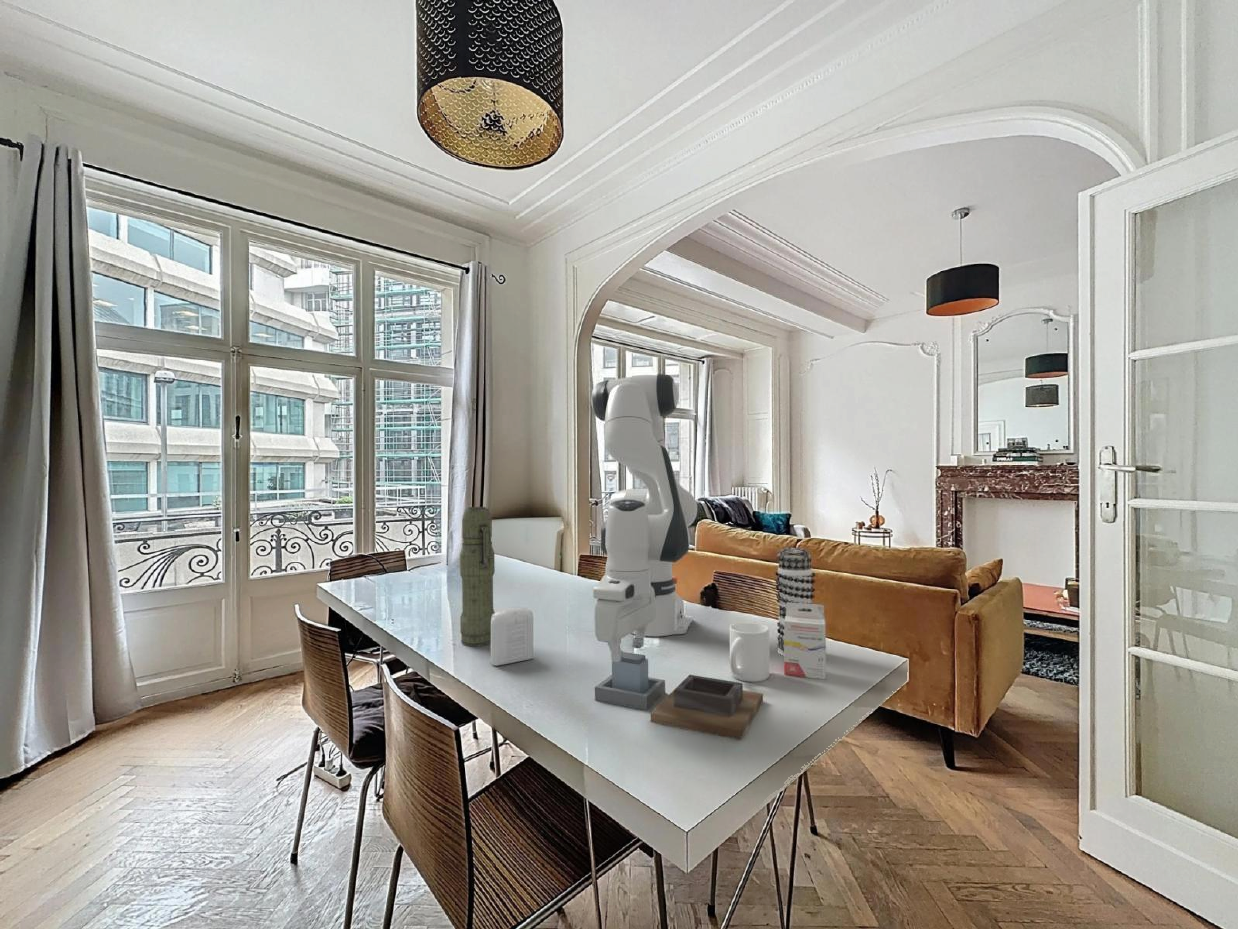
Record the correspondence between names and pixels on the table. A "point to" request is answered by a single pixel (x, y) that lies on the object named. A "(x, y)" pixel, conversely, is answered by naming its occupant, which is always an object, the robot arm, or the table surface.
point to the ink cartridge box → (805, 641)
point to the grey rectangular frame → (630, 694)
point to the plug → (631, 673)
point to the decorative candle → (793, 584)
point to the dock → (709, 707)
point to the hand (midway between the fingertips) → (628, 654)
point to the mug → (749, 652)
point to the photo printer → (511, 636)
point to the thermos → (476, 576)
